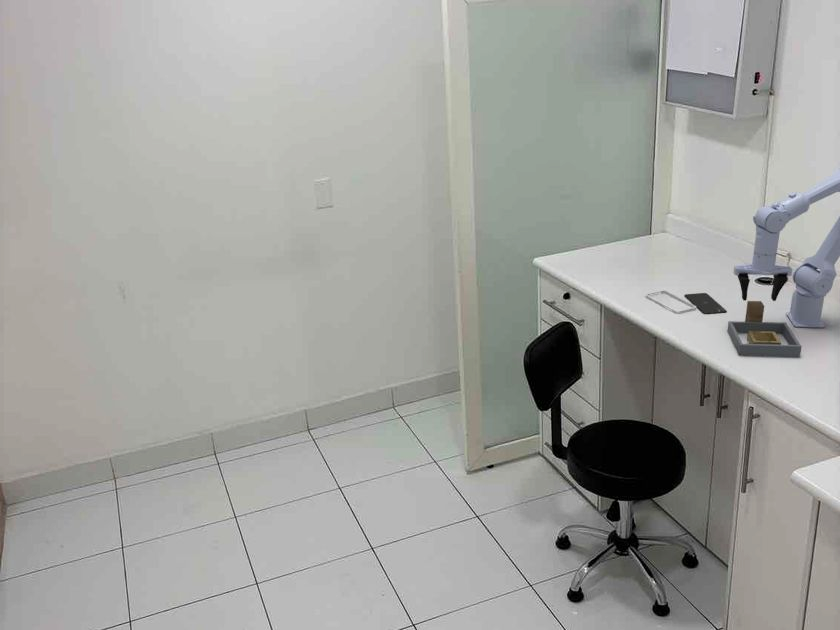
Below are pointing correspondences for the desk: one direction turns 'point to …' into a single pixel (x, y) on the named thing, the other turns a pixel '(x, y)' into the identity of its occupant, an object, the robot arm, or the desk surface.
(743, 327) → the walled box
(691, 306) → the phone case
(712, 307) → the smartphone
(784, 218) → the robot arm
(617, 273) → the desk surface
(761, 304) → the walnut peg
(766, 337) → the frame
